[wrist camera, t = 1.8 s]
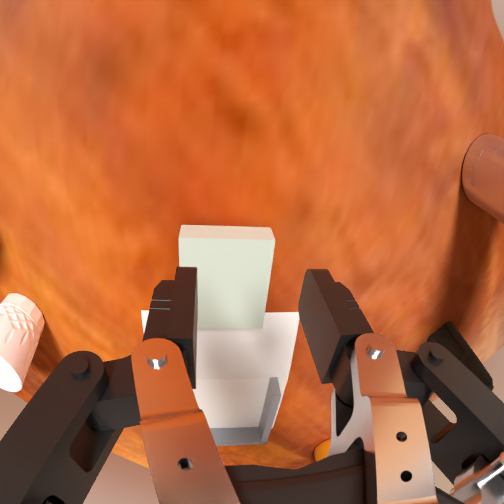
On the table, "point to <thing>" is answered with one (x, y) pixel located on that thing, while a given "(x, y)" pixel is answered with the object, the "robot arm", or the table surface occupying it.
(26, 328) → the white cup
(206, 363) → the loading dock
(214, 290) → the grey rectangular block
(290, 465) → the table surface
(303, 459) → the table surface
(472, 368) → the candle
